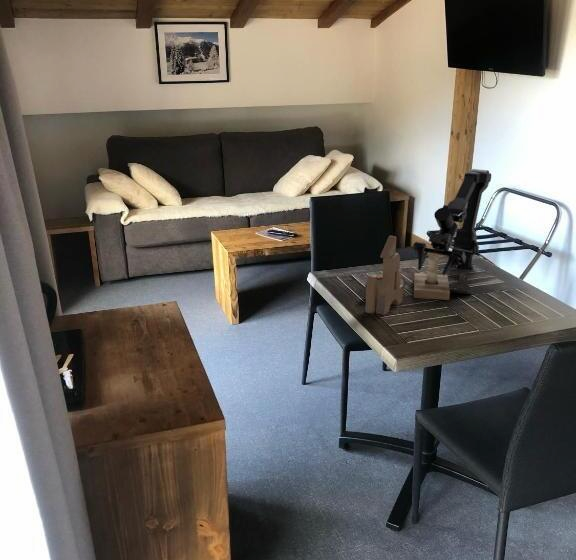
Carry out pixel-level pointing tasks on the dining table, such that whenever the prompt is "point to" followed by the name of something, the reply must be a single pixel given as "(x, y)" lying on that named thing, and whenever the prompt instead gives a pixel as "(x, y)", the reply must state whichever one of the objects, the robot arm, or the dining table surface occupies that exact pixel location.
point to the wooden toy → (385, 282)
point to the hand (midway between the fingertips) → (430, 272)
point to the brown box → (431, 287)
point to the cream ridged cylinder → (432, 270)
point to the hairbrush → (461, 285)
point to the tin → (379, 278)
